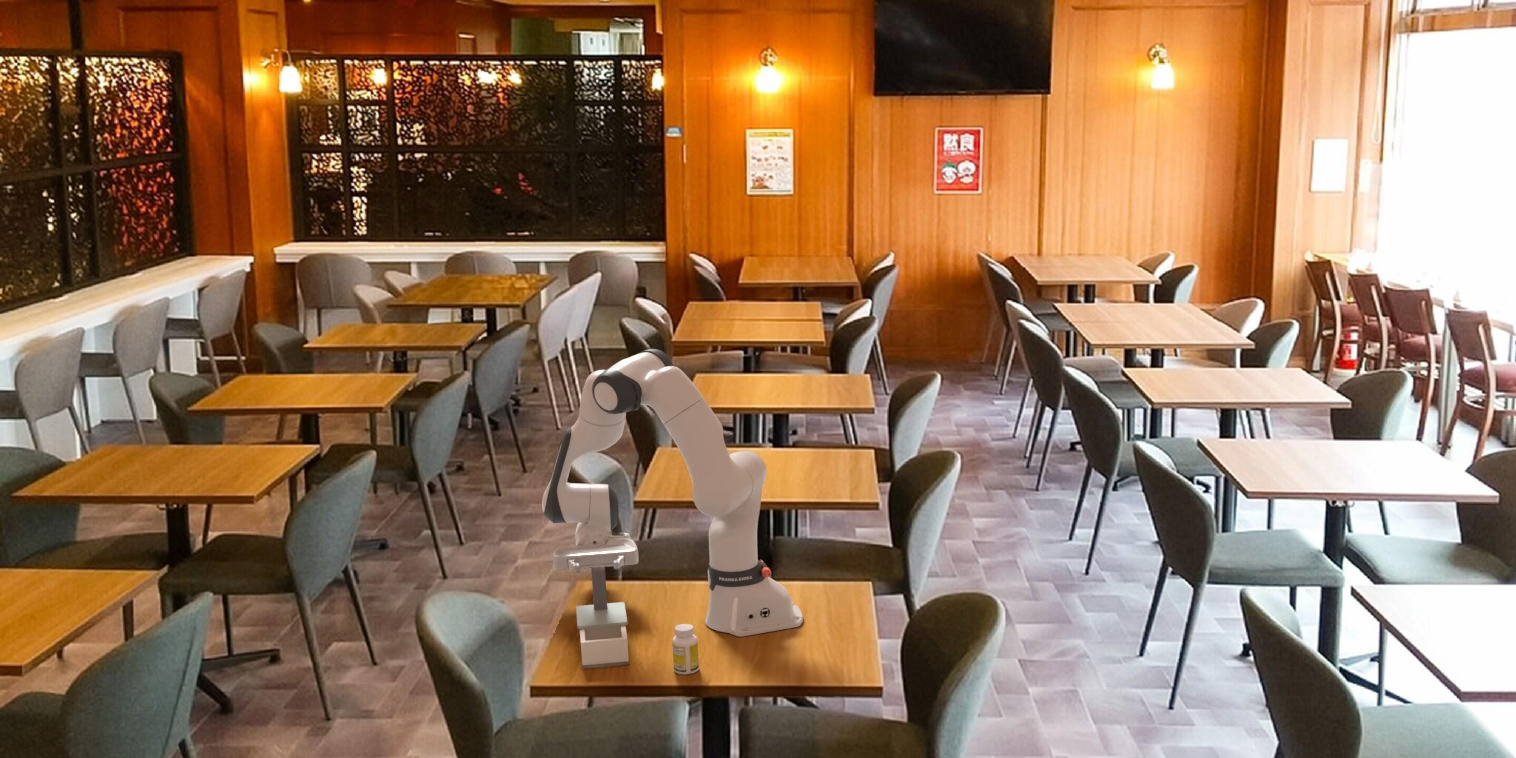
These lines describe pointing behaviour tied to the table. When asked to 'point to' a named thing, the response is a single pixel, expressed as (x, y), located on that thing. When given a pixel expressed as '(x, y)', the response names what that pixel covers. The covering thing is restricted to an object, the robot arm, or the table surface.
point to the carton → (604, 646)
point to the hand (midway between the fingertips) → (596, 567)
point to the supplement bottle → (685, 650)
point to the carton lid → (600, 606)
